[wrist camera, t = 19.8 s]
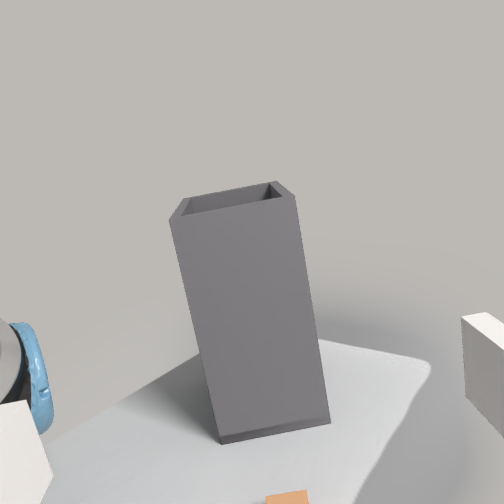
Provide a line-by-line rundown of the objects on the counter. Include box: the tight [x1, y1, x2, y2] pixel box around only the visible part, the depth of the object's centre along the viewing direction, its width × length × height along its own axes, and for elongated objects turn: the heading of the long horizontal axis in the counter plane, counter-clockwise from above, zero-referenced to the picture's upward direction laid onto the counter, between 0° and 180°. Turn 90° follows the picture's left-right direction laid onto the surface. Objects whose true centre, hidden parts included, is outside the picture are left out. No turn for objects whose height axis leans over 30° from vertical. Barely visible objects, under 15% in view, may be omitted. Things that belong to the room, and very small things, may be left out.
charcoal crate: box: [169, 181, 331, 445], centre depth 61 cm, size 14×18×29 cm
